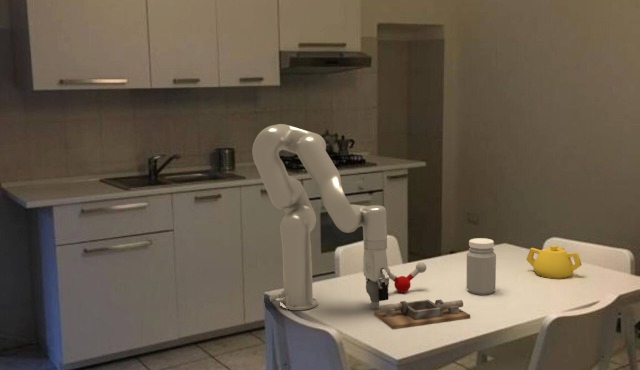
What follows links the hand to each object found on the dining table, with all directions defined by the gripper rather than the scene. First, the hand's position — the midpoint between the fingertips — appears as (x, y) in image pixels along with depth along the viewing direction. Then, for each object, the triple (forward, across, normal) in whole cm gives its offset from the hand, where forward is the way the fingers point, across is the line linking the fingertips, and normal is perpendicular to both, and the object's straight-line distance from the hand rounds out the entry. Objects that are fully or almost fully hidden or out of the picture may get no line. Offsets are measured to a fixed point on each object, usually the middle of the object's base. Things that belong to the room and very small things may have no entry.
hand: (377, 296), depth 230 cm
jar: (+5, -3, +40) cm, 41 cm away
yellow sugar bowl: (+6, -13, +78) cm, 80 cm away
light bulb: (+4, 0, -1) cm, 4 cm away
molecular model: (+4, -13, +15) cm, 21 cm away
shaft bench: (+4, +13, +9) cm, 16 cm away
